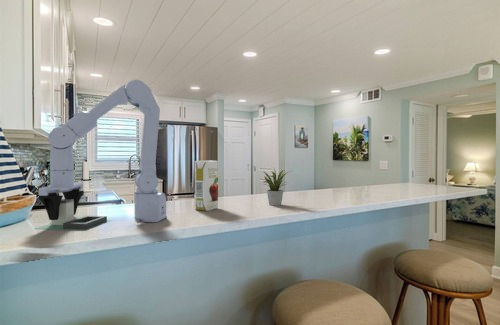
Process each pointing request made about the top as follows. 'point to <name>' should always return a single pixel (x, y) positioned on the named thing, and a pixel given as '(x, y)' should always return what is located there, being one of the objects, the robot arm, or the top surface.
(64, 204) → the plug
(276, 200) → the house plant
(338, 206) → the top surface
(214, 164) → the juice carton
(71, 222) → the circuit board
